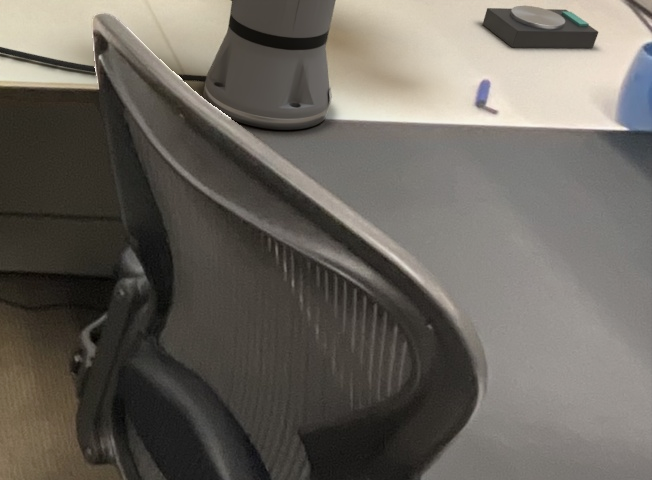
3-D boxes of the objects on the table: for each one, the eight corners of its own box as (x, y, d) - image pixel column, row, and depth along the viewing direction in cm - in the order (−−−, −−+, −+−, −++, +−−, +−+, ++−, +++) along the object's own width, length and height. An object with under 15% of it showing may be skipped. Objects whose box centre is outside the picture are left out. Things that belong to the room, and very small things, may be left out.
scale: (512, 47, 160) (519, 26, 158) (482, 24, 166) (488, 3, 164) (592, 48, 164) (600, 27, 162) (560, 25, 170) (567, 5, 168)
